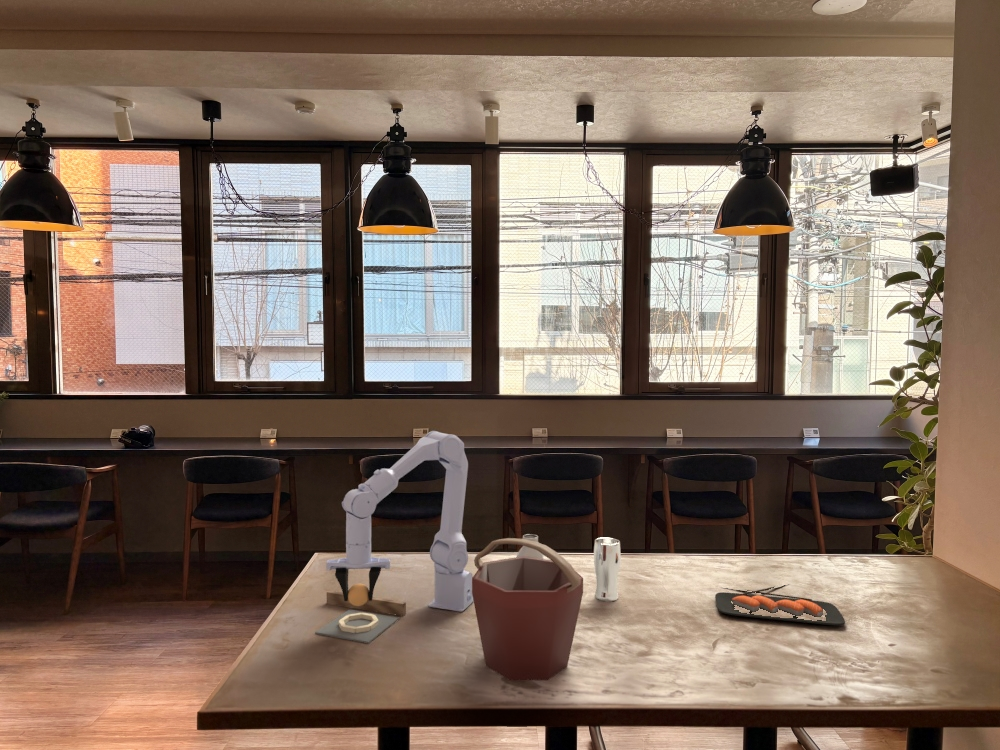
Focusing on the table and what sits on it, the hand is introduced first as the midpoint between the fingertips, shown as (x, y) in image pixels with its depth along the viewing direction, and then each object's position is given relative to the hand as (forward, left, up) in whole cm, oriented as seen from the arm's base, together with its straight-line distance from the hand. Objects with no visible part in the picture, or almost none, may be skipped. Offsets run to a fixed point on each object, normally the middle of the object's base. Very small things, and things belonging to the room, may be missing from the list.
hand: (358, 599), depth 153 cm
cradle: (0, 0, -6) cm, 6 cm away
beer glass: (-51, -39, -7) cm, 65 cm away
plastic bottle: (-36, -19, -7) cm, 41 cm away
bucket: (-42, +2, -7) cm, 43 cm away
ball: (0, 0, +1) cm, 1 cm away
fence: (+4, -10, -6) cm, 12 cm away
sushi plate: (-92, -52, -7) cm, 106 cm away
